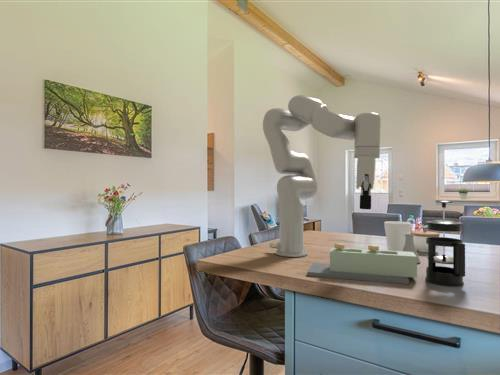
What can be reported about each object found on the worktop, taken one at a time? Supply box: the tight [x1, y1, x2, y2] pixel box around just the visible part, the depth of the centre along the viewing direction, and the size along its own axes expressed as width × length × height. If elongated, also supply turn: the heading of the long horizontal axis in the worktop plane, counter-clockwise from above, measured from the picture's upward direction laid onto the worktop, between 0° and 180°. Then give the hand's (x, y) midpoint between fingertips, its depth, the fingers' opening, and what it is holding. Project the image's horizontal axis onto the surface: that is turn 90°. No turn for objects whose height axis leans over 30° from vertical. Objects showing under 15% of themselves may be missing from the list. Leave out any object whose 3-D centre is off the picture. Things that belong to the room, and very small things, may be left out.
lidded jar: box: [410, 228, 441, 253], centre depth 139 cm, size 11×11×9 cm
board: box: [307, 243, 410, 285], centre depth 102 cm, size 28×13×9 cm, turn 72°
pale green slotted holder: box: [329, 247, 418, 279], centre depth 101 cm, size 24×7×6 cm, turn 71°
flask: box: [403, 233, 421, 264], centre depth 119 cm, size 7×7×10 cm
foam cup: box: [383, 220, 412, 251], centre depth 129 cm, size 10×9×13 cm
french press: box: [425, 200, 466, 287], centre depth 93 cm, size 12×9×23 cm
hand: (365, 207), depth 104 cm, fingers open, 9 cm apart
